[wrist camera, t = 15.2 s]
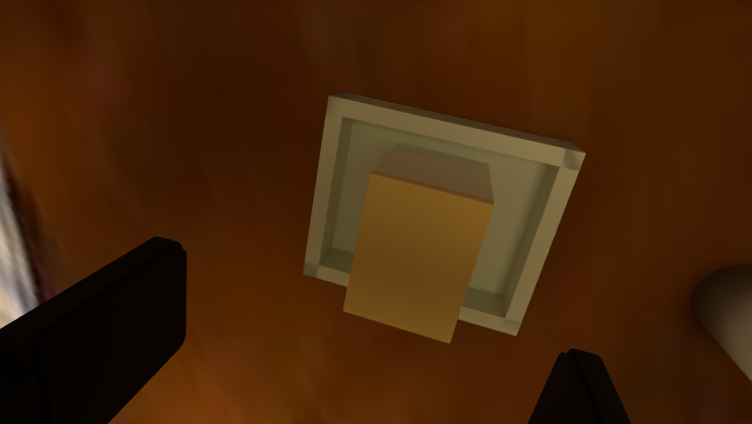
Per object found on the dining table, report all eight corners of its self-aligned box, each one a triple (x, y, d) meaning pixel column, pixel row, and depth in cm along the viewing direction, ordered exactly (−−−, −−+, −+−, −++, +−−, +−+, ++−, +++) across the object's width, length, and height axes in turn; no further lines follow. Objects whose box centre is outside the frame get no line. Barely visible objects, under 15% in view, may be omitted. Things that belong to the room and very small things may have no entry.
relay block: (378, 245, 24) (342, 311, 17) (401, 142, 22) (370, 173, 15) (456, 266, 23) (449, 343, 17) (488, 163, 21) (494, 205, 14)
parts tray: (320, 252, 25) (302, 273, 23) (345, 92, 22) (328, 95, 19) (511, 306, 24) (516, 336, 21) (571, 142, 20) (585, 153, 18)
